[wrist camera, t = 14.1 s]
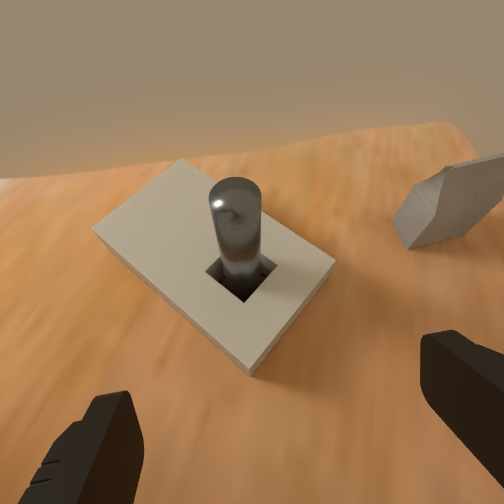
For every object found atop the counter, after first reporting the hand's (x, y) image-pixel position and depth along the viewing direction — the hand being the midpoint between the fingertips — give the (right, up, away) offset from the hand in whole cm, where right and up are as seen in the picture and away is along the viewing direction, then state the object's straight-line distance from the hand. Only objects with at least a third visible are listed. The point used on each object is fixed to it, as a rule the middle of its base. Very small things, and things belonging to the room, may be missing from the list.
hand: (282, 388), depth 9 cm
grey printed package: (+18, +6, +26) cm, 32 cm away
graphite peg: (-2, 0, +23) cm, 23 cm away
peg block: (-5, +3, +24) cm, 25 cm away
